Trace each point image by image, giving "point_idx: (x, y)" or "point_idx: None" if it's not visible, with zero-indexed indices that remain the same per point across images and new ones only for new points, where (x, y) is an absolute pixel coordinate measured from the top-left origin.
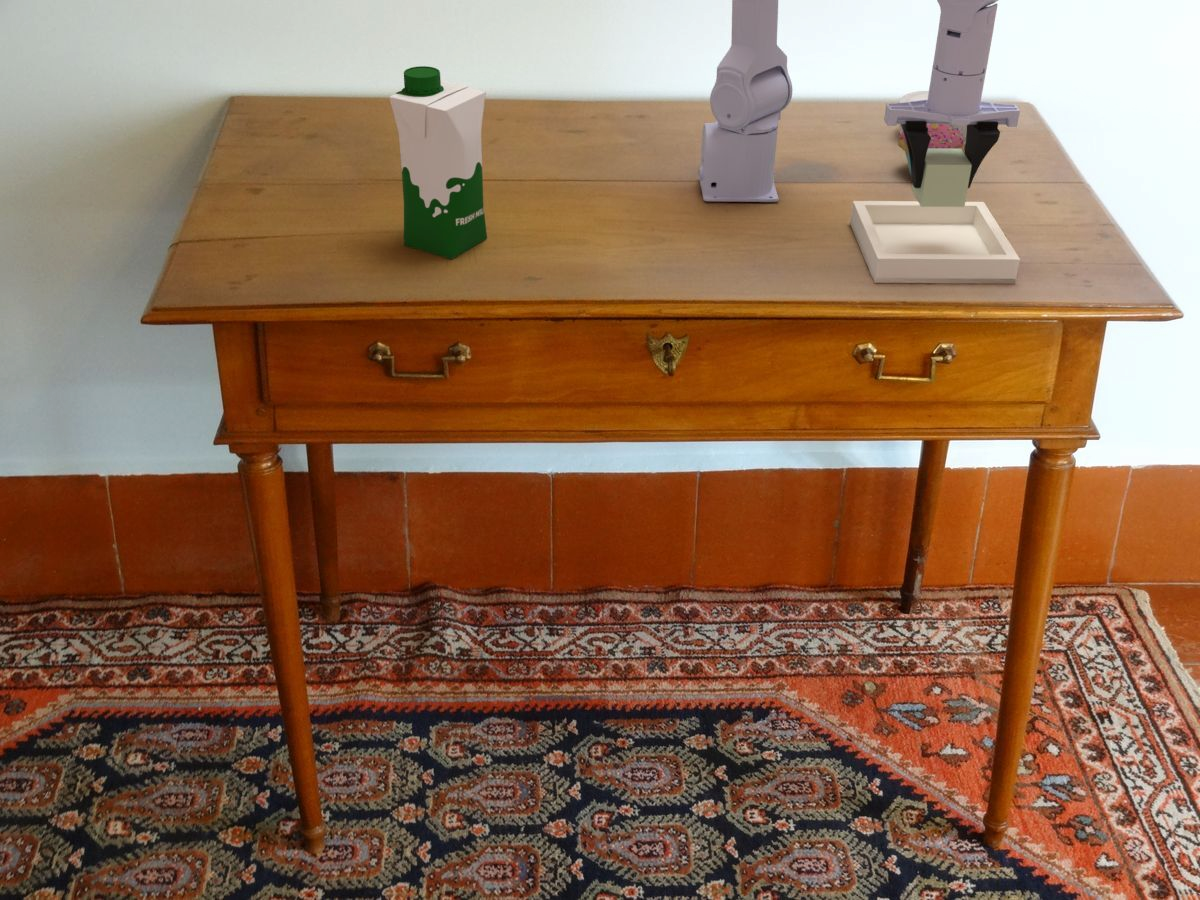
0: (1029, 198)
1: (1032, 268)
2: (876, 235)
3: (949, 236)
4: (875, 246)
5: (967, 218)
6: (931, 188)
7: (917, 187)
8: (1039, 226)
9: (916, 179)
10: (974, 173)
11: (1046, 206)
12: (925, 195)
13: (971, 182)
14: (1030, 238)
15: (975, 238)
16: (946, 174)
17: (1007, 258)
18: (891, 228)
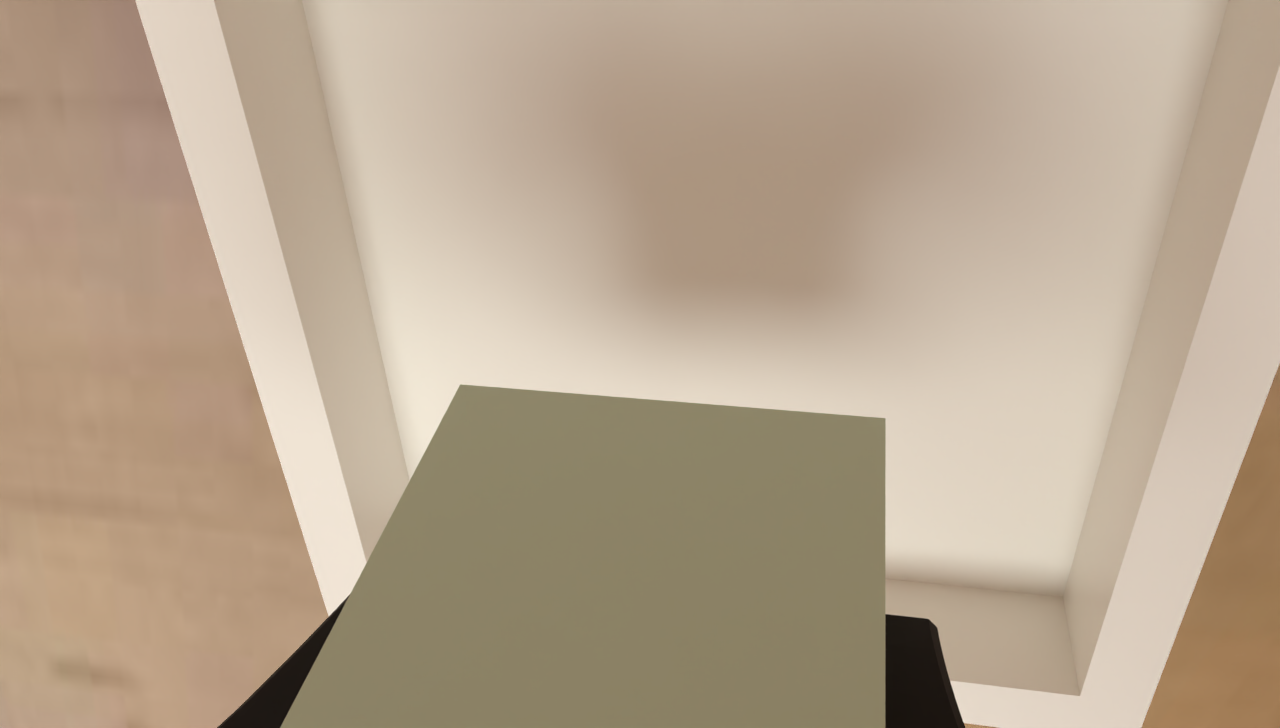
0: (165, 712)
1: (98, 33)
2: (1223, 293)
3: None
4: None
5: None
6: (791, 550)
7: (907, 620)
8: (104, 501)
9: (946, 693)
10: (285, 671)
11: (91, 650)
12: (850, 498)
13: (345, 600)
14: (137, 394)
15: (421, 381)
16: (612, 672)
17: None
18: (900, 529)
